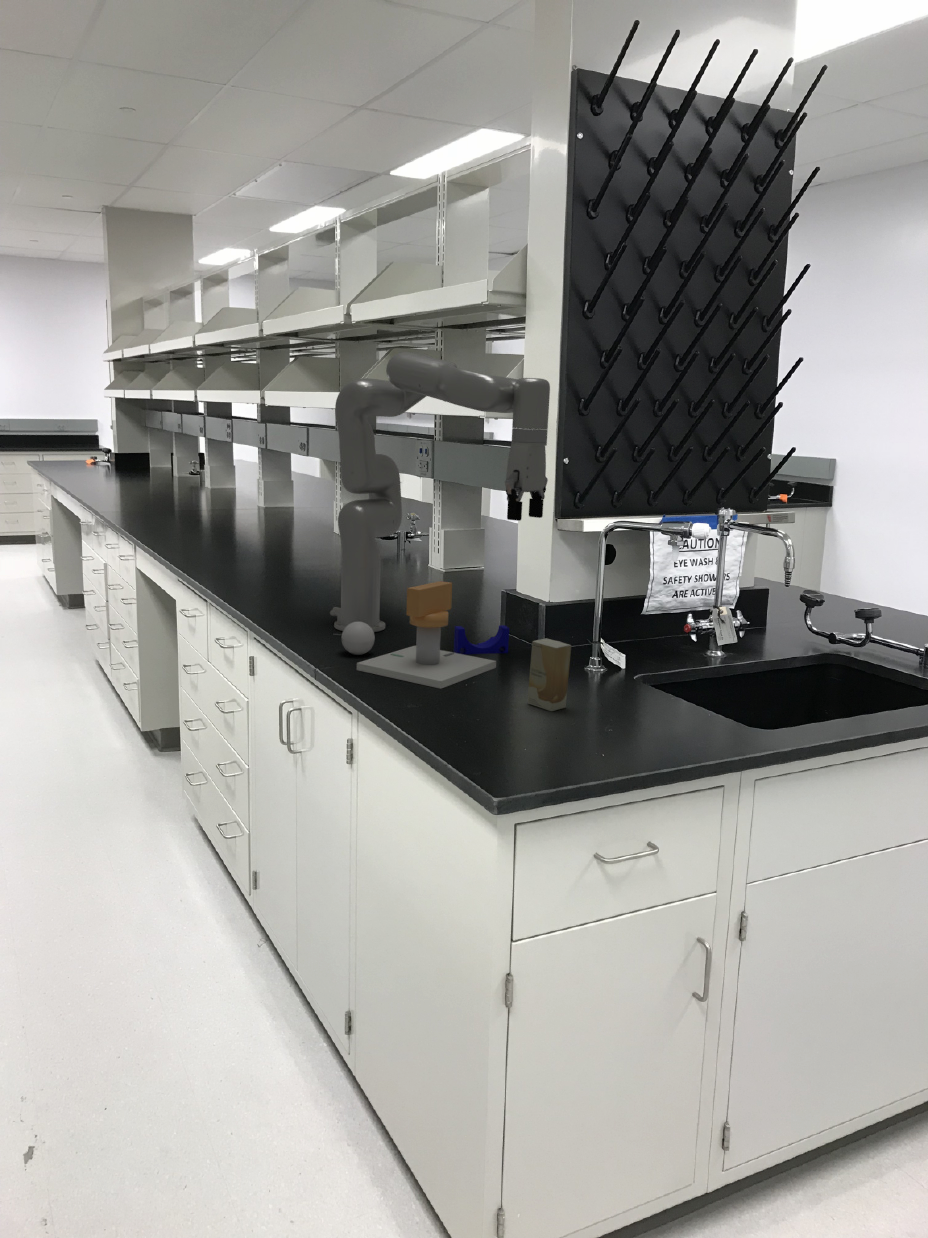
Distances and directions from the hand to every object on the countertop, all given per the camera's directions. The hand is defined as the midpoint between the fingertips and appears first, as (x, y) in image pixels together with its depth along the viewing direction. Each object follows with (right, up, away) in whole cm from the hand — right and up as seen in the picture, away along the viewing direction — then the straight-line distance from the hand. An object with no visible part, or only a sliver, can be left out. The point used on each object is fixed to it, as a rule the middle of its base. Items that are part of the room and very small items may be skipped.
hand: (525, 518), depth 202 cm
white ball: (-38, -30, +5) cm, 48 cm away
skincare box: (+2, -38, -28) cm, 47 cm away
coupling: (-21, -23, -8) cm, 32 cm away
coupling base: (-21, -32, -6) cm, 39 cm away
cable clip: (-10, -30, +12) cm, 33 cm away
